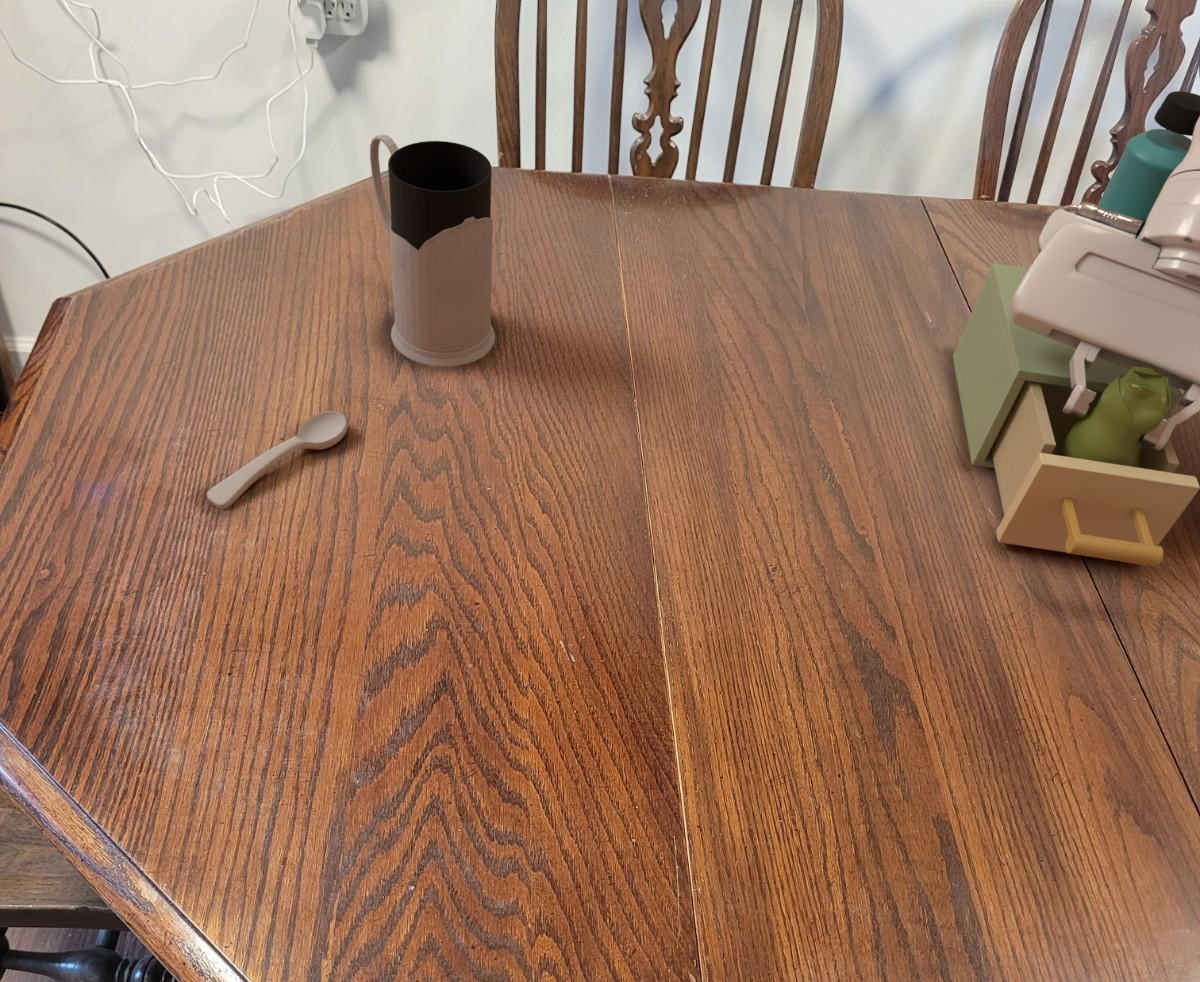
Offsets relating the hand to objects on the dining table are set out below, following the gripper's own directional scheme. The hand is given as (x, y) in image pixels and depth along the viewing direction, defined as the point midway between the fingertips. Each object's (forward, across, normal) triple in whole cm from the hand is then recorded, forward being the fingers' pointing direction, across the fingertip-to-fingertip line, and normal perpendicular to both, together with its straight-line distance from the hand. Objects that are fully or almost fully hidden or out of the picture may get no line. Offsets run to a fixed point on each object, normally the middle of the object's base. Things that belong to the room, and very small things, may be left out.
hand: (1111, 430), depth 73 cm
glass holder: (+13, -53, +1) cm, 54 cm away
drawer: (+6, 0, +6) cm, 9 cm away
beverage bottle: (-16, -5, +30) cm, 34 cm away
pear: (+4, 0, +4) cm, 6 cm away
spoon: (+27, -50, -14) cm, 59 cm away
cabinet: (-2, -5, +15) cm, 16 cm away
